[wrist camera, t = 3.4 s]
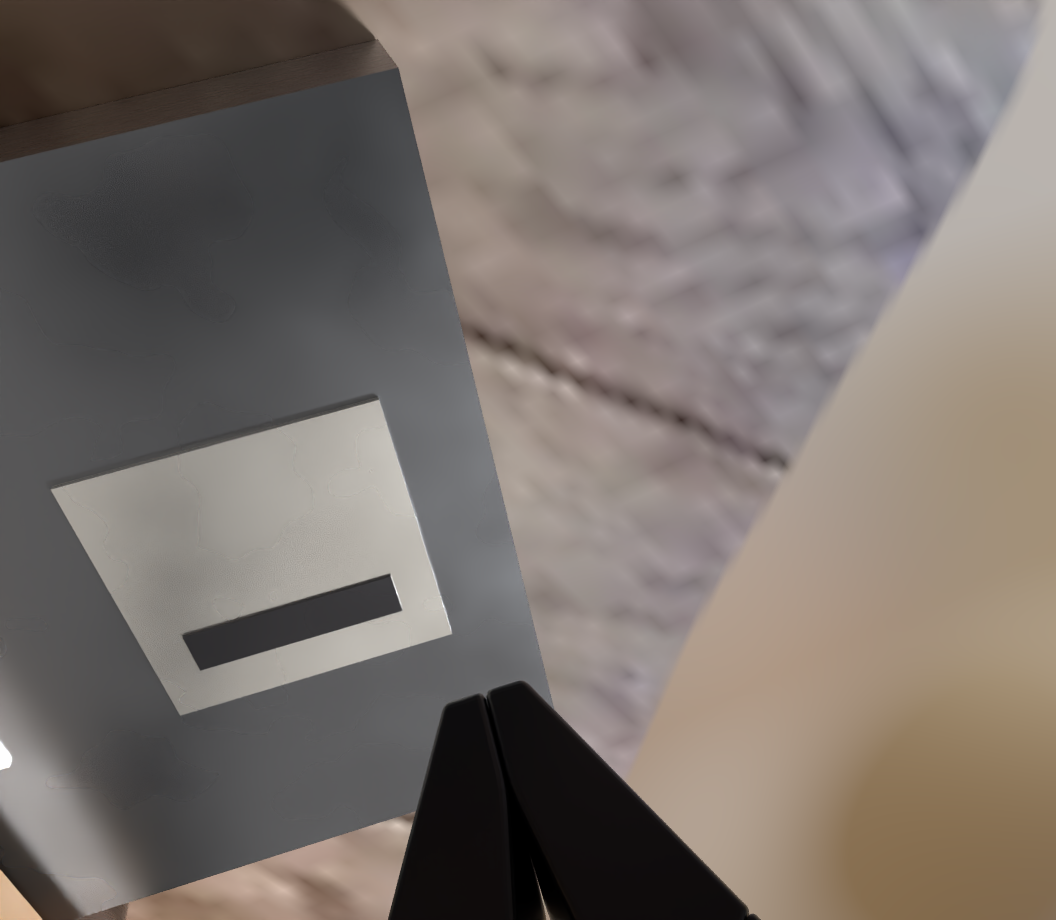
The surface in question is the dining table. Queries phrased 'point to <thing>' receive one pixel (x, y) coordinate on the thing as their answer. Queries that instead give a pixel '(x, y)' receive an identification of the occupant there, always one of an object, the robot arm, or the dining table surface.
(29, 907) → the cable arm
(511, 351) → the dining table surface
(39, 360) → the power supply unit
